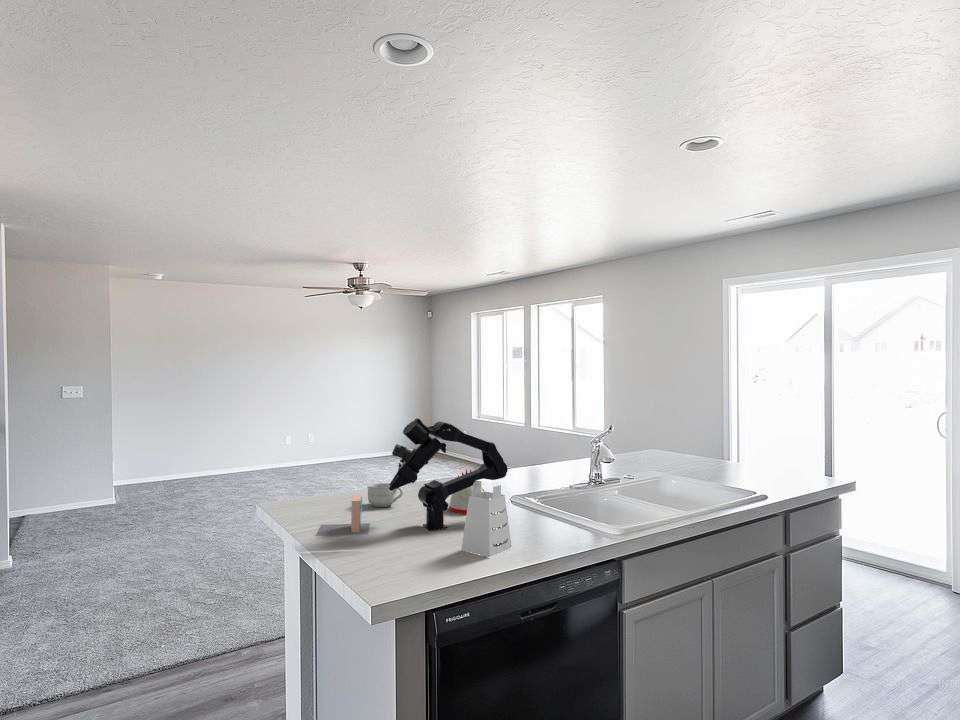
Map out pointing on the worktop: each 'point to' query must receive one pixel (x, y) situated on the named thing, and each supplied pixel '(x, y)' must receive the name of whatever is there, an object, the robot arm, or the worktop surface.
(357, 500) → the pink and teal block
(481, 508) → the grater
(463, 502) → the kitchen timer
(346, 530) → the mat
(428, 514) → the robot arm
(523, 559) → the worktop surface
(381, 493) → the teacup
